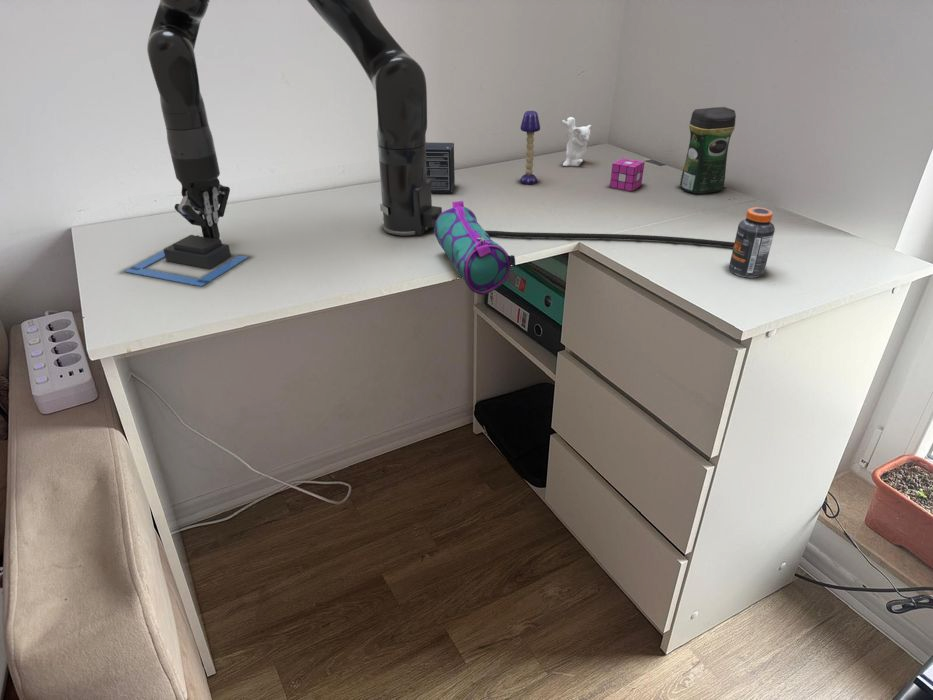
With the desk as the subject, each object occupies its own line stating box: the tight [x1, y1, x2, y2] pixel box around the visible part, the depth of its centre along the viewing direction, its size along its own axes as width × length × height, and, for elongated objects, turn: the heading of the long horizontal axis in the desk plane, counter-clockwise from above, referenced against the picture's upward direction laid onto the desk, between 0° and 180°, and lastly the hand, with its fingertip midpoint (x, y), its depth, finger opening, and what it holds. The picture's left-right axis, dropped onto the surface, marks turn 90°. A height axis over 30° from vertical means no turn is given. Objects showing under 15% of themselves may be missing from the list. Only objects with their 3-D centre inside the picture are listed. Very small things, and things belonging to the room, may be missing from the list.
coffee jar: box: [679, 106, 737, 194], centre depth 153 cm, size 10×8×19 cm
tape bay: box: [124, 250, 249, 287], centre depth 122 cm, size 17×13×1 cm
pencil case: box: [433, 200, 516, 296], centre depth 116 cm, size 21×9×10 cm, turn 17°
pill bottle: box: [728, 206, 776, 278], centre depth 115 cm, size 6×6×11 cm
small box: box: [426, 141, 456, 194], centre depth 155 cm, size 11×6×10 cm, turn 84°
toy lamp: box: [519, 110, 541, 185], centre depth 158 cm, size 5×5×17 cm
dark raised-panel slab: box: [162, 234, 232, 270], centre depth 123 cm, size 10×6×4 cm, turn 69°
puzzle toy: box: [609, 157, 645, 192], centre depth 158 cm, size 6×6×6 cm
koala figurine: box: [561, 116, 593, 167], centre depth 172 cm, size 8×7×12 cm
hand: (213, 242), depth 127 cm, fingers closed
